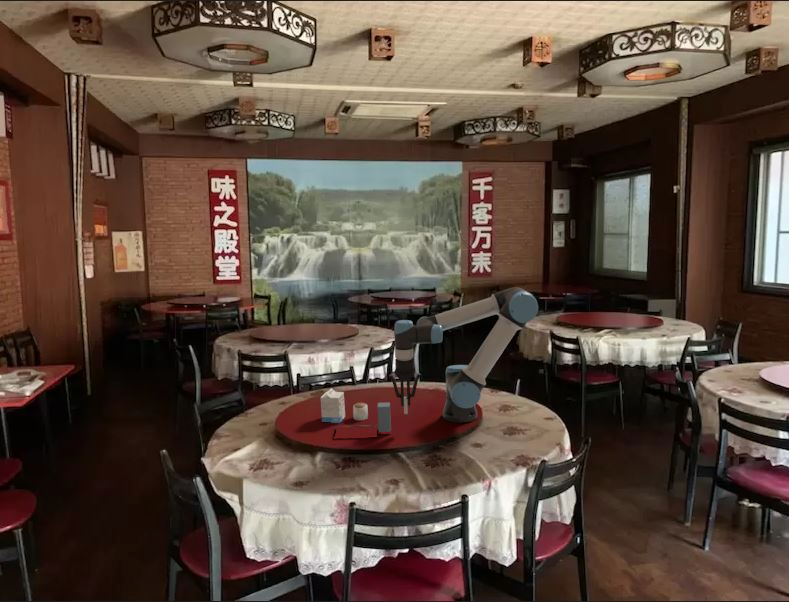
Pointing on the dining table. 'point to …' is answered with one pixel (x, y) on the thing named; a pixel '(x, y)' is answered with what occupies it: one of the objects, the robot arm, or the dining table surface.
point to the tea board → (359, 426)
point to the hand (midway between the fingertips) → (405, 412)
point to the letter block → (384, 417)
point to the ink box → (332, 406)
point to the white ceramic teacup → (360, 411)
